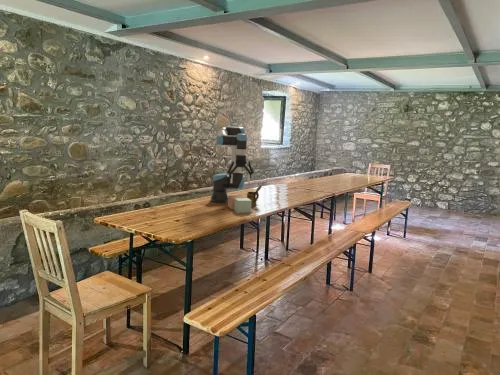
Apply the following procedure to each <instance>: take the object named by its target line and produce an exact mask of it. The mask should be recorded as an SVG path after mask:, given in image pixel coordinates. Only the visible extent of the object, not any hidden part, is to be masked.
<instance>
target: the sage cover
mask: <svg viewBox="0 0 500 375" xmlns="http://www.w3.org/2000/svg"><path fill="white" fill-rule="evenodd" d="M251 202H252V200H250V199H249V198H247V197H244V198H235V211H236V212H238V213H237V214H248V213H247V212H251V211H252V206H251ZM235 211H234V212H235ZM236 212H235V213H236Z"/></svg>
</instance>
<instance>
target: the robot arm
mask: <svg viewBox="0 0 500 375" xmlns="http://www.w3.org/2000/svg"><path fill="white" fill-rule="evenodd" d="M215 138H216V140H215V141H216V144H215V145H216V146H231V155H230V156H231V163H230V166H229V167H228V170H227V171H226V173H225V172H223V173H217V174H214V175H213V176H212V177H213V178H212V183H213V184H212V194H211V196H210V201H211V202H213V203H227V202H228V196H229V195H228V192H227V190H242V189H243V188H244V186H245V181H246V180H245V179H246V177H245V175H244V173H243V172H242V168H244V169H245V170H246V171H247V173H248V174H247V184H250V183H251V179H252V175H253V174H254V170H253V168H252V166H251V161H249V160H248V161H247V145H248V144H247V142H248V134H246V132H245V129H244V127H243V126H232V125H231V126H228V125H227V126H222V127H219V128H218V129H217V130H216V131H215ZM246 165H248V166H246Z"/></svg>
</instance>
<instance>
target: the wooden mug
mask: <svg viewBox="0 0 500 375" xmlns="http://www.w3.org/2000/svg"><path fill="white" fill-rule="evenodd" d="M261 189H262V185H259V186H258V187H257V188H256V189H255V191H247V193H246V198H249V199H250V200H252V202H251V207H257V201H258V200H259V196H260V195H259V191H260V190H261Z"/></svg>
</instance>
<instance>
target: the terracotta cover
mask: <svg viewBox="0 0 500 375" xmlns="http://www.w3.org/2000/svg"><path fill="white" fill-rule="evenodd" d="M227 196H228V203H227V205H228V207H229V209H230V210H232V209H235V198H245V197H243V195H227Z"/></svg>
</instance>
